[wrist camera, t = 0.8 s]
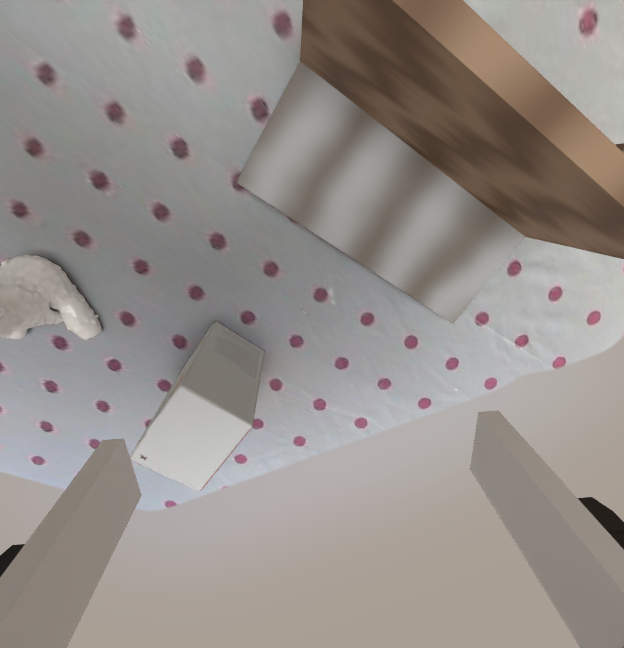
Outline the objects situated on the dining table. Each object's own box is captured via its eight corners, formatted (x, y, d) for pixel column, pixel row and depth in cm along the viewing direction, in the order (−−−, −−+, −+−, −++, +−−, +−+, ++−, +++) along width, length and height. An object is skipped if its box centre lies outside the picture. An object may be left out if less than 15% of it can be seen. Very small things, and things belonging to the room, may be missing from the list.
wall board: (241, 182, 32) (183, 181, 15) (351, -25, 27) (444, -363, 10) (441, 313, 38) (557, 416, 21) (563, 161, 33) (844, 138, 16)
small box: (227, 402, 41) (198, 495, 28) (177, 374, 39) (125, 460, 27) (267, 350, 38) (254, 426, 26) (216, 318, 37) (177, 384, 25)
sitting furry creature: (11, 333, 36) (-113, 399, 25) (-15, 249, 33) (-171, 282, 22) (106, 334, 37) (25, 399, 26) (89, 251, 34) (-12, 284, 23)
